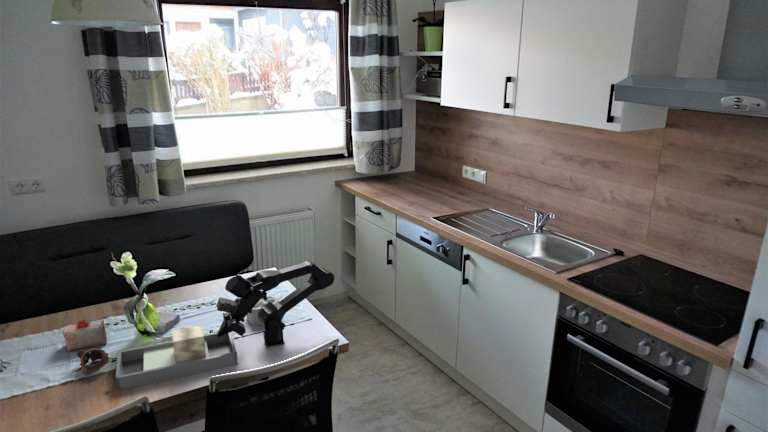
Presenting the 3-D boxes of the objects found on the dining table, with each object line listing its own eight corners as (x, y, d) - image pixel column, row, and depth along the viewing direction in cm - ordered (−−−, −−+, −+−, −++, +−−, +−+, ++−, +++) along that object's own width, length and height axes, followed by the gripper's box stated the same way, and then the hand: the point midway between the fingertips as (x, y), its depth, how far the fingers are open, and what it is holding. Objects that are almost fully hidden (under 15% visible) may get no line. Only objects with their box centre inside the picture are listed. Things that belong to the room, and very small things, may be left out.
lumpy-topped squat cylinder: (244, 316, 213) (243, 297, 211) (274, 308, 220) (273, 290, 217) (252, 327, 205) (251, 307, 202) (283, 318, 212) (282, 299, 209)
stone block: (143, 336, 201) (165, 334, 199) (140, 325, 200) (162, 323, 198) (161, 322, 213) (183, 320, 210) (158, 311, 212) (179, 309, 209)
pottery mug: (118, 361, 183) (112, 349, 177) (100, 384, 176) (94, 374, 170) (88, 349, 184) (81, 338, 178) (69, 373, 177) (62, 362, 171)
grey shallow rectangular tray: (231, 340, 195) (230, 329, 194) (237, 364, 181) (236, 352, 179) (120, 362, 181) (118, 351, 180) (117, 390, 166) (115, 378, 165)
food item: (64, 354, 186) (59, 330, 183) (67, 343, 193) (62, 319, 190) (107, 345, 191) (102, 322, 188) (107, 335, 198) (104, 312, 195)
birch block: (203, 344, 187) (201, 325, 184) (206, 356, 180) (203, 336, 177) (174, 350, 183) (171, 330, 181) (175, 362, 176) (172, 342, 174)
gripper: (225, 280, 189) (197, 313, 188) (233, 302, 172) (201, 337, 171) (249, 296, 194) (221, 327, 193) (258, 318, 178) (228, 353, 177)
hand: (217, 335), depth 184 cm, fingers closed
